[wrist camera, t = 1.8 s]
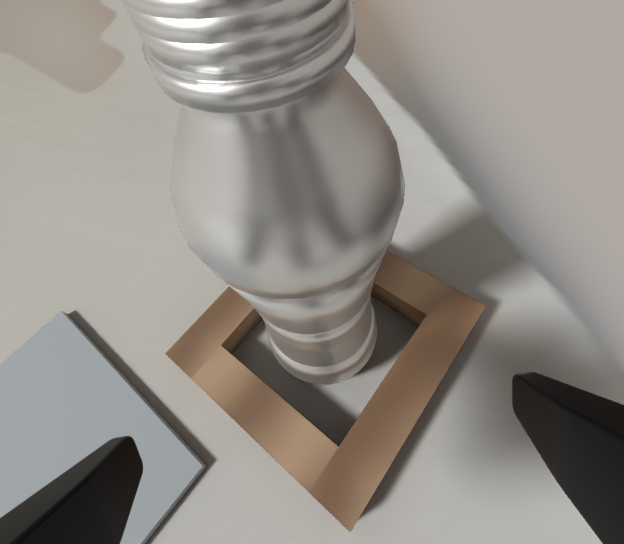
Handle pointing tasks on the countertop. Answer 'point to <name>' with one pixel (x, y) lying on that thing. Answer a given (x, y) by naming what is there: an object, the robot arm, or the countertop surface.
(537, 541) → the countertop surface
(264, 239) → the plastic bottle
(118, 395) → the mat
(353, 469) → the pocket frame
